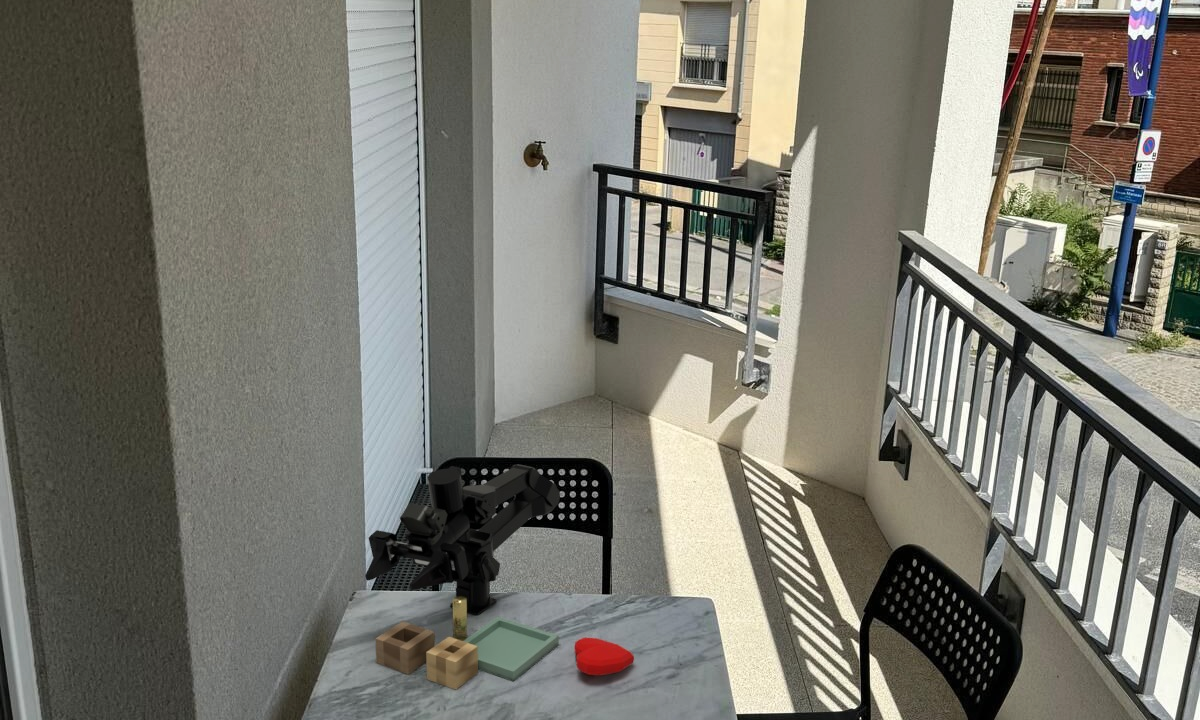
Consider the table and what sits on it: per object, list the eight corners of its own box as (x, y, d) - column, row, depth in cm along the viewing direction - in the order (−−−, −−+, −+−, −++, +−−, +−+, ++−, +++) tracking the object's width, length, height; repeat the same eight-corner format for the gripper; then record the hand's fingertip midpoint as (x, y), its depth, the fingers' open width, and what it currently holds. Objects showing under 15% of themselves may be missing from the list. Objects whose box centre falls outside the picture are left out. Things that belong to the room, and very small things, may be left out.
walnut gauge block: (403, 645, 192) (402, 621, 191) (434, 656, 188) (434, 631, 187) (376, 662, 186) (375, 638, 185) (408, 674, 182) (407, 649, 181)
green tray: (498, 625, 199) (498, 616, 199) (558, 644, 193) (558, 635, 192) (450, 659, 187) (450, 650, 187) (513, 681, 181) (513, 671, 181)
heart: (629, 658, 192) (572, 653, 191) (631, 635, 192) (575, 630, 191) (636, 685, 180) (576, 680, 179) (639, 660, 180) (579, 655, 179)
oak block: (449, 663, 186) (448, 636, 185) (477, 673, 183) (477, 646, 182) (426, 679, 181) (426, 652, 180) (456, 689, 178) (455, 662, 177)
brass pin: (459, 636, 195) (458, 595, 193) (469, 639, 194) (469, 598, 192) (450, 641, 193) (449, 600, 191) (461, 645, 192) (460, 604, 190)
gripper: (390, 486, 195) (334, 532, 182) (478, 501, 186) (425, 550, 173) (402, 540, 199) (348, 588, 186) (488, 556, 190) (437, 608, 178)
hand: (388, 582), depth 181 cm, fingers open, 9 cm apart
